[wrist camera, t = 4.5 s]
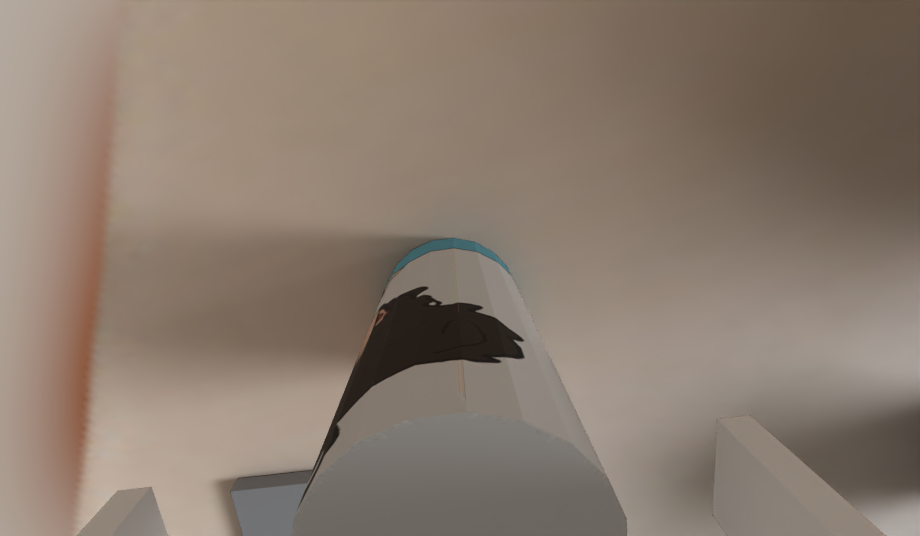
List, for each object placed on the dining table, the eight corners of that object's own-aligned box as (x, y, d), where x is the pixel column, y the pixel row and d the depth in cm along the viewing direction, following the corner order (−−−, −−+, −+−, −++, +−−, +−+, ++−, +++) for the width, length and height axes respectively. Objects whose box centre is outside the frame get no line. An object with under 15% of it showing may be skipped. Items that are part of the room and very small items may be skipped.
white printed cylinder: (366, 259, 23) (232, 467, 8) (498, 221, 23) (591, 369, 8) (408, 377, 25) (357, 713, 10) (530, 343, 24) (655, 640, 10)
